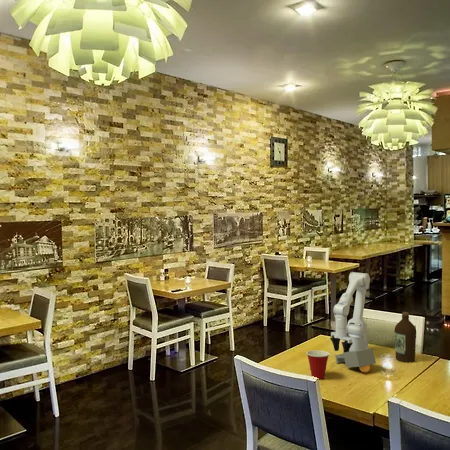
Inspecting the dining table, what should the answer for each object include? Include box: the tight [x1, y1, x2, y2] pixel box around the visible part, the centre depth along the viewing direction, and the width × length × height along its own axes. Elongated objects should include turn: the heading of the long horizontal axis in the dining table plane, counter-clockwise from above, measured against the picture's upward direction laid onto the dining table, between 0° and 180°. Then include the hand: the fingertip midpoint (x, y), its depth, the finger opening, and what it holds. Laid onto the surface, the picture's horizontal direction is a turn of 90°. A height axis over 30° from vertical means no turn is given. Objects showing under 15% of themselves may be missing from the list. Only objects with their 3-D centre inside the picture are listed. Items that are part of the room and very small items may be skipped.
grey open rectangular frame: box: [334, 348, 377, 368], centre depth 221 cm, size 10×19×7 cm, turn 24°
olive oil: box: [393, 311, 417, 364], centre depth 230 cm, size 11×11×25 cm
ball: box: [358, 365, 371, 374], centre depth 214 cm, size 5×5×5 cm
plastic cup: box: [305, 349, 330, 381], centre depth 208 cm, size 11×11×12 cm
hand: (341, 352), depth 230 cm, fingers open, 7 cm apart
